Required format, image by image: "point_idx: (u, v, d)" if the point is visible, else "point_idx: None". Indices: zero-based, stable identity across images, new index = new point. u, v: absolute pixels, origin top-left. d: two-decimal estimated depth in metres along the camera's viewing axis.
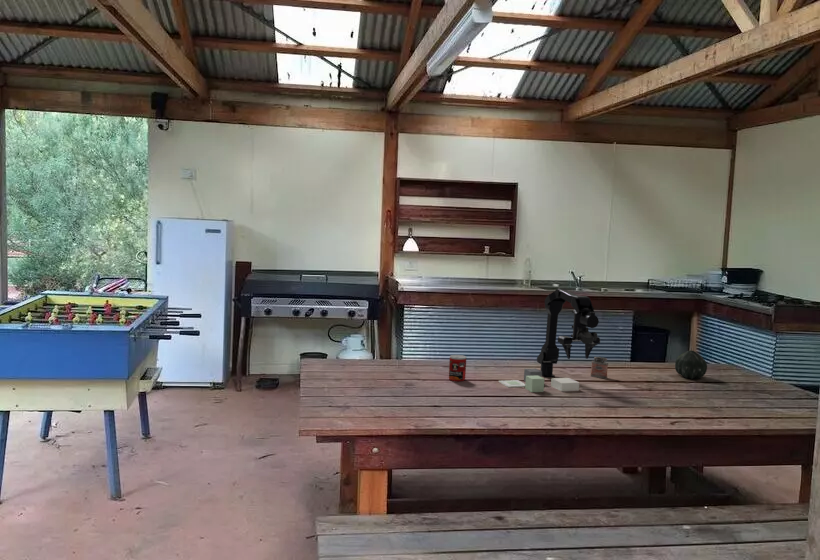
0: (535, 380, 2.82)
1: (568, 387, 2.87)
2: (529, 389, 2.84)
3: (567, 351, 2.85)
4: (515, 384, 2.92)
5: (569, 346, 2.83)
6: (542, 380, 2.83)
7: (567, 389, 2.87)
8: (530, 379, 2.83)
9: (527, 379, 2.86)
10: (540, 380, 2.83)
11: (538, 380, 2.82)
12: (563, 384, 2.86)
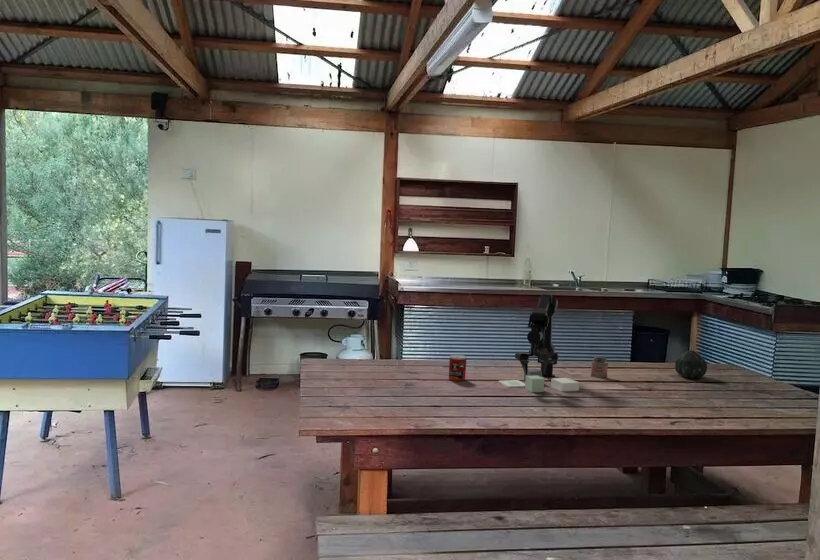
0: (535, 380, 2.82)
1: (568, 387, 2.87)
2: (529, 389, 2.84)
3: (524, 367, 2.83)
4: (515, 384, 2.92)
5: (526, 362, 2.81)
6: (542, 380, 2.83)
7: (567, 389, 2.87)
8: (530, 379, 2.83)
9: (527, 379, 2.86)
10: (540, 380, 2.83)
11: (538, 380, 2.82)
12: (563, 384, 2.86)
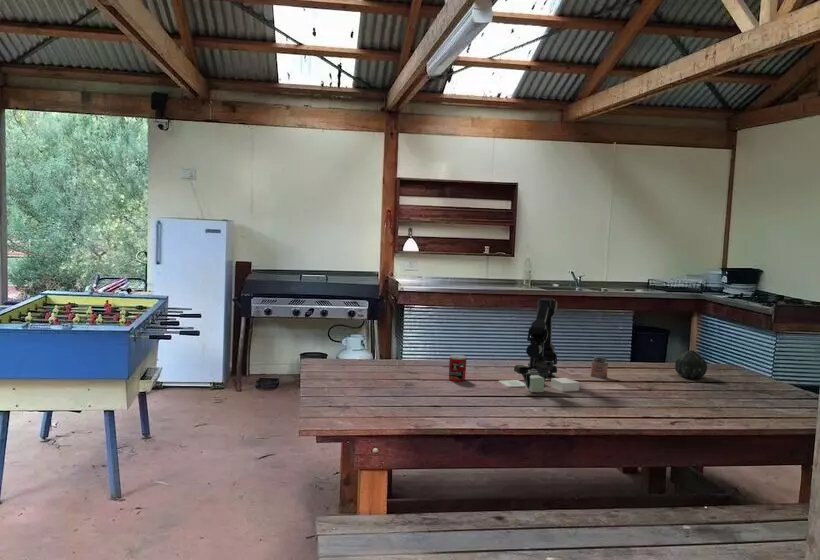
0: (535, 380, 2.82)
1: (569, 387, 2.87)
2: (529, 389, 2.84)
3: (526, 380, 2.84)
4: (515, 384, 2.92)
5: (528, 375, 2.81)
6: (542, 380, 2.83)
7: (567, 389, 2.87)
8: (530, 379, 2.83)
9: None
10: (540, 379, 2.83)
11: (538, 380, 2.82)
12: (563, 384, 2.86)
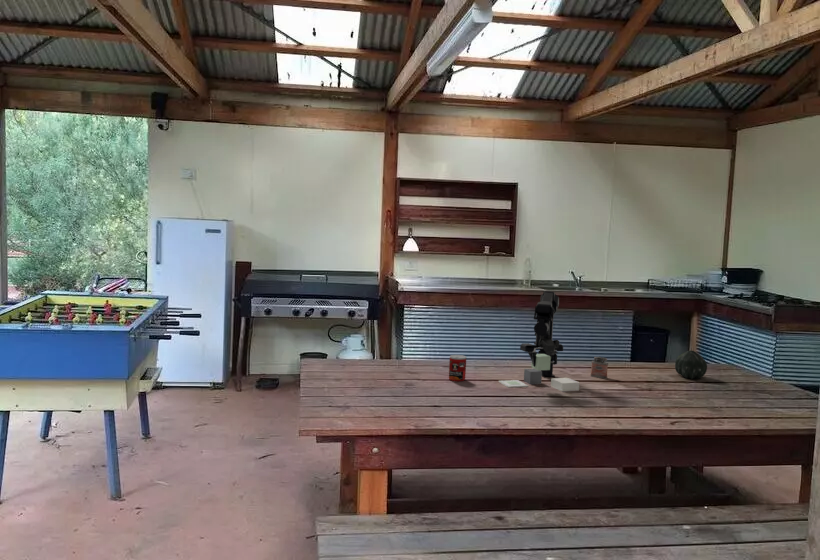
0: (541, 358, 2.82)
1: (569, 387, 2.87)
2: (535, 367, 2.84)
3: (532, 359, 2.84)
4: (515, 384, 2.92)
5: (534, 354, 2.82)
6: (548, 358, 2.83)
7: (568, 389, 2.87)
8: (536, 357, 2.83)
9: None
10: (546, 358, 2.83)
11: (544, 358, 2.83)
12: (564, 384, 2.86)
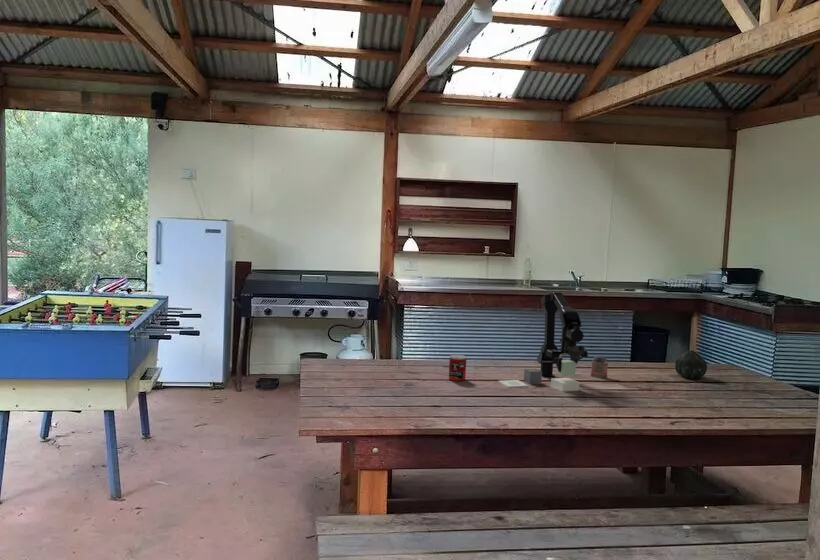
0: (567, 364, 2.87)
1: (569, 387, 2.87)
2: (561, 373, 2.89)
3: (558, 364, 2.89)
4: (515, 384, 2.92)
5: (560, 360, 2.87)
6: (573, 364, 2.88)
7: (568, 389, 2.87)
8: (562, 363, 2.88)
9: None
10: (571, 363, 2.88)
11: (570, 364, 2.88)
12: (564, 384, 2.86)
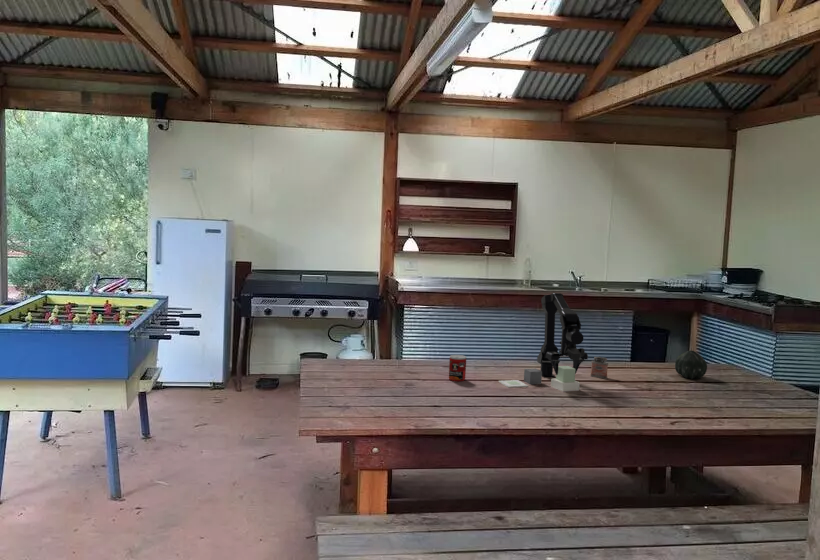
0: (566, 370, 2.88)
1: (569, 387, 2.87)
2: (560, 379, 2.89)
3: (555, 367, 2.89)
4: (515, 384, 2.92)
5: (557, 362, 2.86)
6: (573, 370, 2.89)
7: (568, 389, 2.87)
8: (561, 369, 2.89)
9: (558, 369, 2.91)
10: (571, 370, 2.88)
11: (569, 370, 2.88)
12: (564, 384, 2.86)
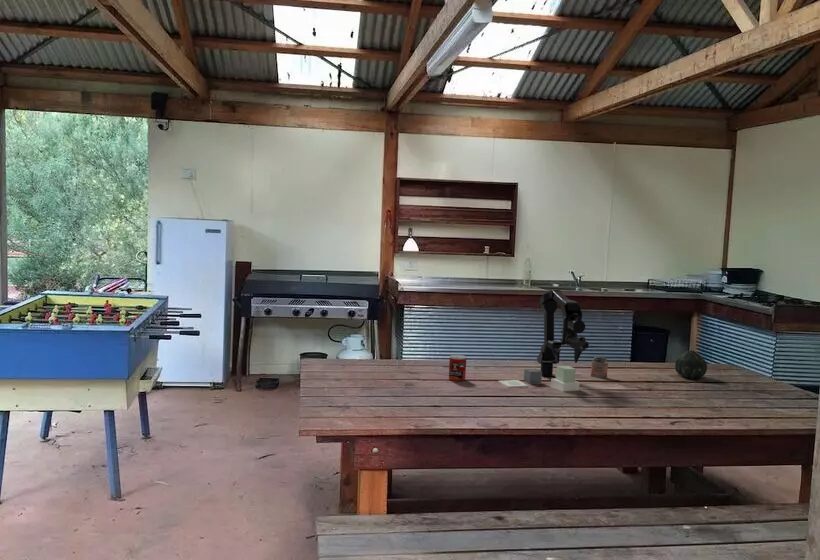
0: (566, 370, 2.87)
1: (569, 387, 2.87)
2: (560, 379, 2.89)
3: (556, 355, 2.90)
4: (515, 384, 2.92)
5: (558, 351, 2.88)
6: (573, 370, 2.89)
7: (568, 389, 2.87)
8: (561, 369, 2.89)
9: (558, 369, 2.91)
10: (571, 370, 2.88)
11: (569, 370, 2.88)
12: (564, 384, 2.86)
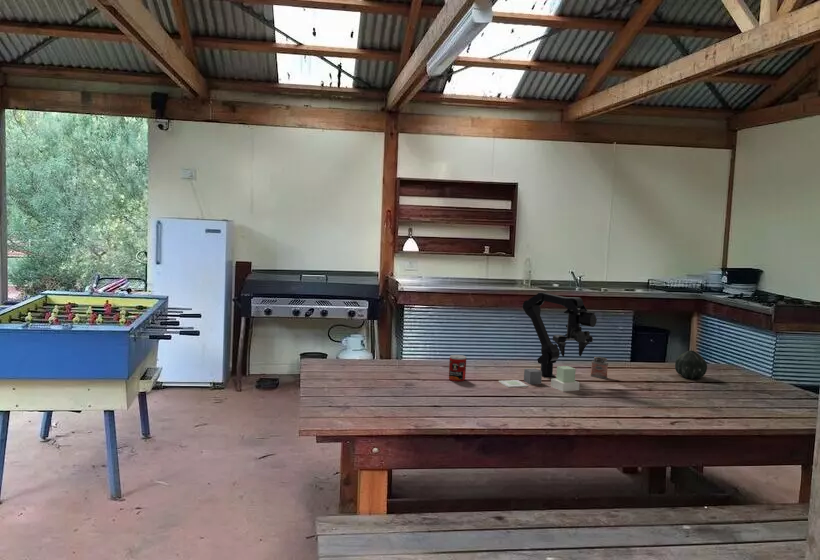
0: (566, 370, 2.87)
1: (569, 387, 2.87)
2: (560, 379, 2.89)
3: (561, 349, 3.02)
4: (515, 384, 2.92)
5: (563, 344, 3.00)
6: (573, 370, 2.88)
7: (568, 389, 2.87)
8: (561, 369, 2.89)
9: (558, 369, 2.91)
10: (571, 370, 2.88)
11: (569, 370, 2.88)
12: (564, 384, 2.86)
